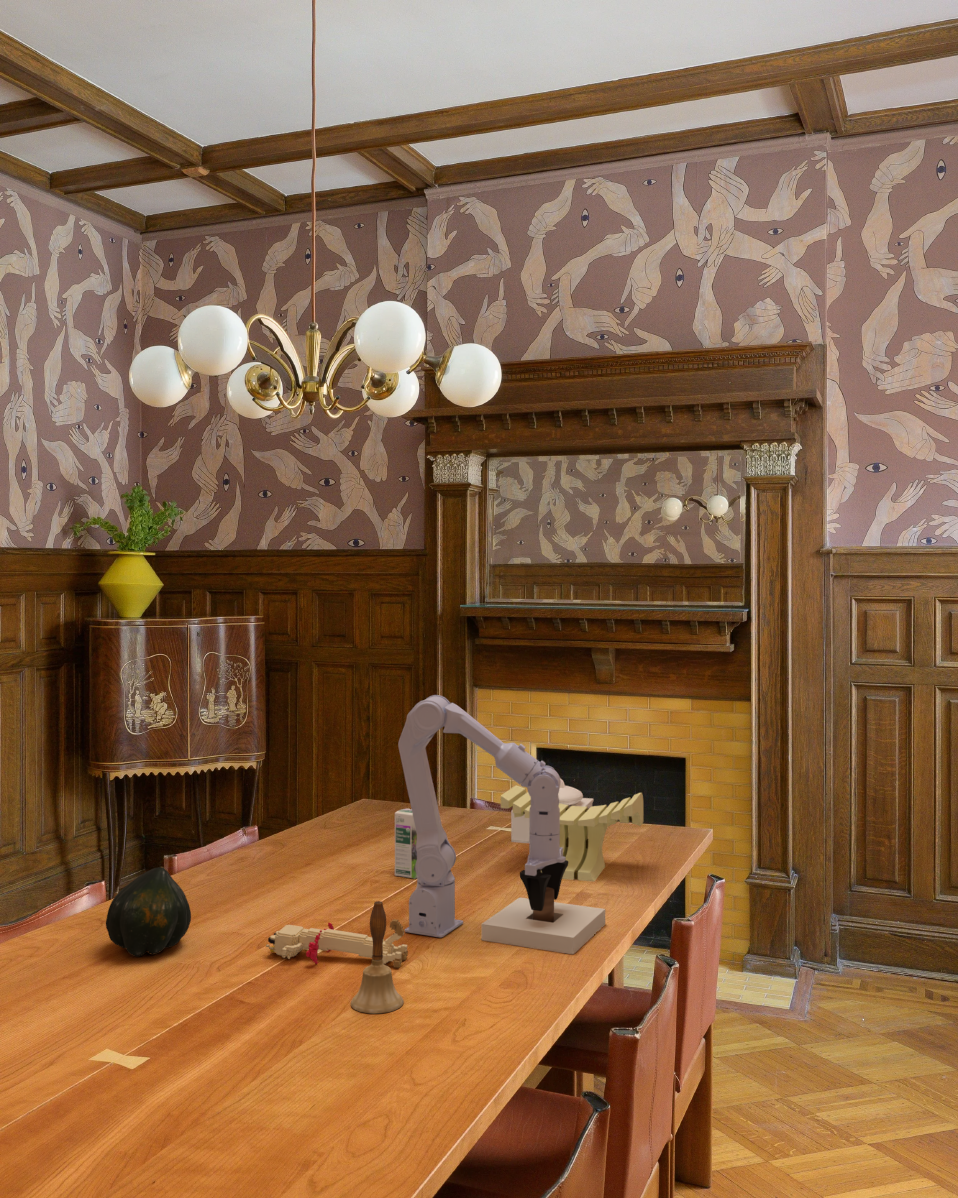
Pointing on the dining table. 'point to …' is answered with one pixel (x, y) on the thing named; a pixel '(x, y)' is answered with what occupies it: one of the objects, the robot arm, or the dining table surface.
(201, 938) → the dining table surface
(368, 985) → the hand bell
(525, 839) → the butter dish
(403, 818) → the syrup box
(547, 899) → the peg
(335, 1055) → the dining table surface
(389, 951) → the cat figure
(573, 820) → the slatted curved stool
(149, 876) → the squash
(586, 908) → the socket board
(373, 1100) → the dining table surface
